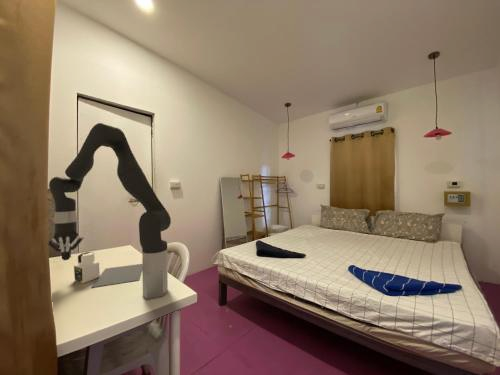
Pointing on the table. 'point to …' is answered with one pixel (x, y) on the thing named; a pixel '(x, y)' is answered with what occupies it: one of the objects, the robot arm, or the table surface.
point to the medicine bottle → (86, 268)
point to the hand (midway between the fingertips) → (66, 259)
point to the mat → (119, 275)
